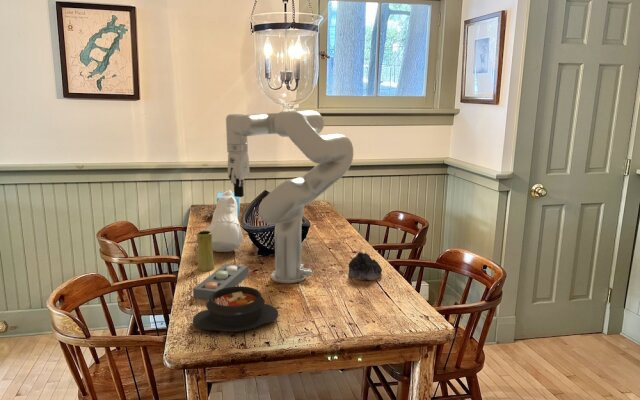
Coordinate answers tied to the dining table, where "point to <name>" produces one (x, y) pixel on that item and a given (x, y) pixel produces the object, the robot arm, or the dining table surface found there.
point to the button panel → (220, 281)
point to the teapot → (236, 200)
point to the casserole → (235, 310)
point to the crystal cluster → (364, 267)
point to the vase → (205, 251)
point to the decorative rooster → (225, 225)
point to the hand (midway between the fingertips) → (239, 196)
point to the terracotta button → (211, 285)
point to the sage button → (222, 275)
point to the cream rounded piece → (231, 268)
